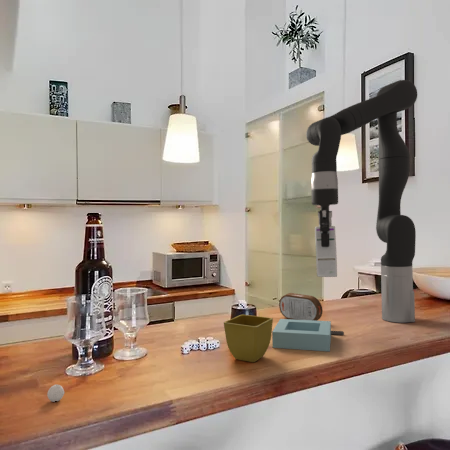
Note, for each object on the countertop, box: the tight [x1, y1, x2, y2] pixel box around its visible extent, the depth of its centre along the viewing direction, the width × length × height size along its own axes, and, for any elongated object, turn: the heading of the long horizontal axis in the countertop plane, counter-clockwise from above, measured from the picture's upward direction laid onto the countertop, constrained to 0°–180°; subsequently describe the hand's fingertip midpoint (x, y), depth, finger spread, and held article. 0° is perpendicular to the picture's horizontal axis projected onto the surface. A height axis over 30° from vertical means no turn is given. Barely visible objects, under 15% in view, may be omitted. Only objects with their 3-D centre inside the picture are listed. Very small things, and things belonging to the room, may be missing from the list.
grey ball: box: [46, 384, 65, 403], centre depth 72 cm, size 3×3×3 cm
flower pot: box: [223, 314, 274, 363], centre depth 93 cm, size 9×9×9 cm
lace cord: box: [331, 330, 345, 336], centre depth 113 cm, size 19×1×1 cm, turn 74°
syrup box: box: [314, 225, 338, 278], centre depth 116 cm, size 6×6×14 cm
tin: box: [278, 292, 324, 321], centre depth 128 cm, size 15×3×8 cm, turn 47°
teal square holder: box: [271, 318, 332, 352], centre depth 106 cm, size 14×14×4 cm
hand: (325, 246), depth 116 cm, fingers closed on syrup box, 6 cm apart
